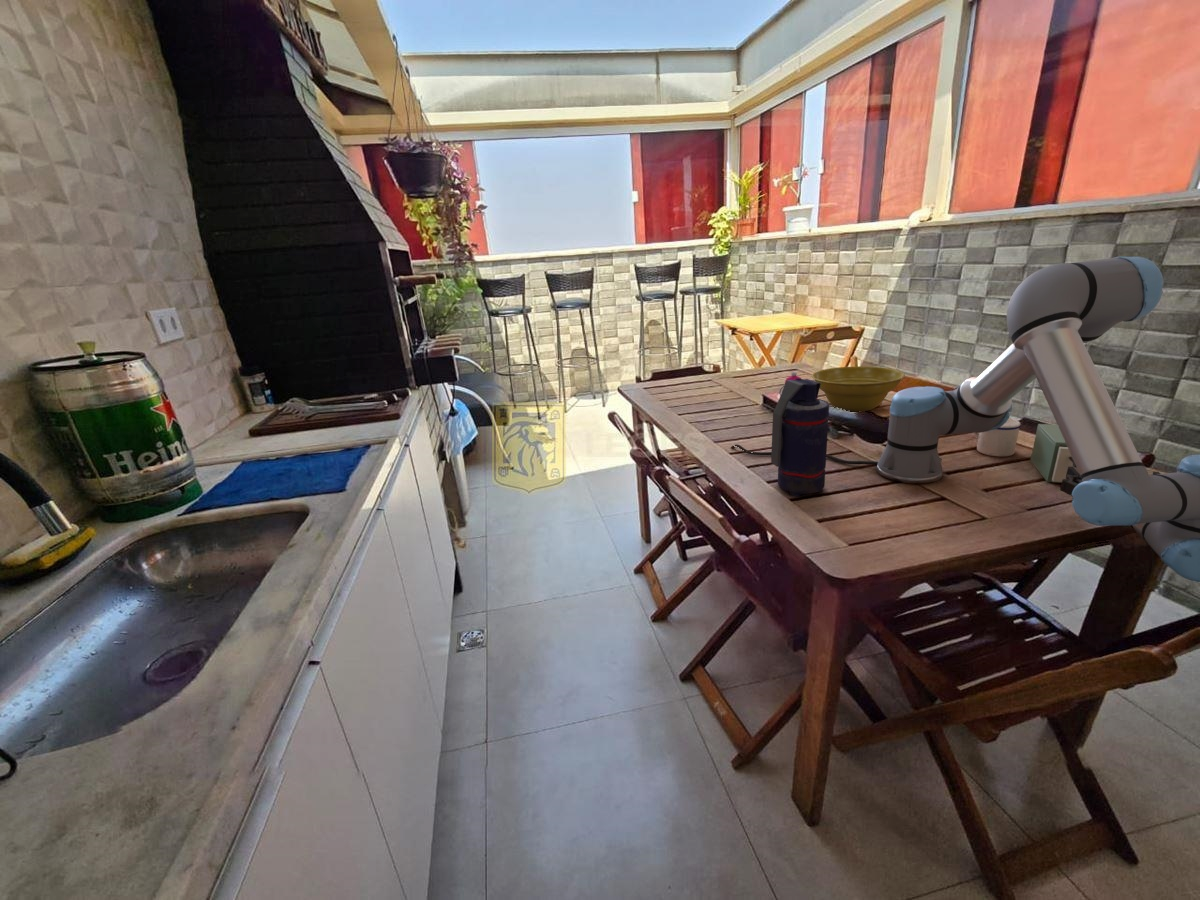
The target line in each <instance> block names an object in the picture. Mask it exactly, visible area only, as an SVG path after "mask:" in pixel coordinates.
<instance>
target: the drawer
mask: <svg viewBox="0 0 1200 900" xmlns="http://www.w3.org/2000/svg"><path fill="white" fill-rule="evenodd" d="M1068 466H1070V467H1074V469H1075V470H1076V471H1077V472H1078V473H1079V471H1078V469H1077V467H1076V464H1075V462H1074V460H1073V458H1072V455H1071V453H1070V451H1069V449H1068V447H1067V446H1059V450H1058V454H1057V459H1056V463H1055V467H1054V471H1053V476H1052V481H1053V482H1052V483H1056V482H1062V480H1063V479H1066V474H1067V470H1068ZM1079 474H1080V473H1079Z"/></svg>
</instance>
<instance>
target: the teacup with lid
mask: <svg viewBox="0 0 1200 900" xmlns="http://www.w3.org/2000/svg"><path fill="white" fill-rule="evenodd" d="M1021 427H1022V424H1021V422H1020V421H1019V420H1017V419H1014V418H1012V417H1011V416H1010V417H1009V419H1008V420H1007V421H1006V423H1005V424H1004V425H1002V426H1001V427H999V428H997V429H995V430H990V431H987V432H982V433H972V435H973V436H974V438H976V440H977V443H976V444H977V445H976V450H977V451H978V452H979V453H981V454H984V455H986V456H991V457H1010V456H1012V455H1014V454H1015V452H1016V447H1017V443H1018V437H1019V433H1020V429H1021Z"/></svg>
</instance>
